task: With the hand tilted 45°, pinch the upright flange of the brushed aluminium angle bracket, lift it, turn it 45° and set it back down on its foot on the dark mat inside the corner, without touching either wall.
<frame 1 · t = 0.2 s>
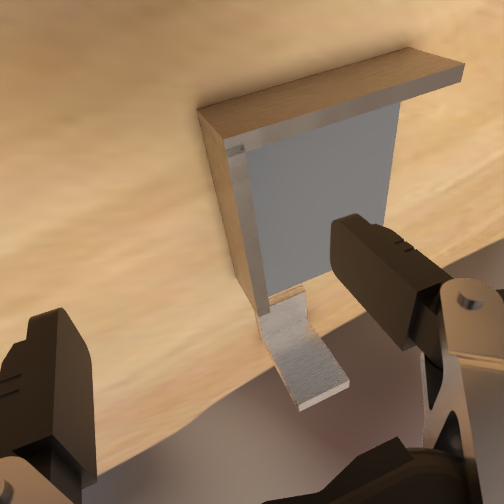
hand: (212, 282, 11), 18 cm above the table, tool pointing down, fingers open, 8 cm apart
corner mat: (315, 199, 35), on the table
corner walls: (315, 199, 35), resting in corner mat
aluminium bracket: (280, 313, 44), on the table
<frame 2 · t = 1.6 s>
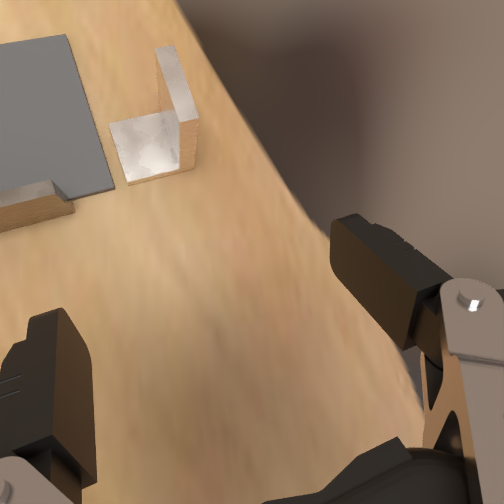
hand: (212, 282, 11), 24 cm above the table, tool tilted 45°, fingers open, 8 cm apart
aluminium bracket: (152, 148, 36), on the table
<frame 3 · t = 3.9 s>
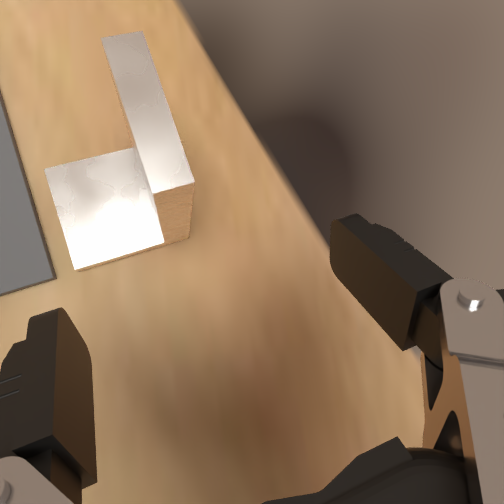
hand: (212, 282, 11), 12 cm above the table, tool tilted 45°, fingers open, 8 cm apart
aluminium bracket: (120, 207, 22), on the table
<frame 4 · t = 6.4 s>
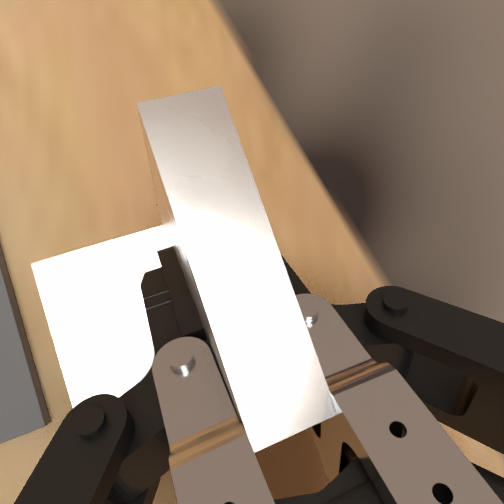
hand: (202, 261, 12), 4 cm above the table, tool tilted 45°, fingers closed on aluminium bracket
aluminium bracket: (143, 310, 15), on the table, touching gripper
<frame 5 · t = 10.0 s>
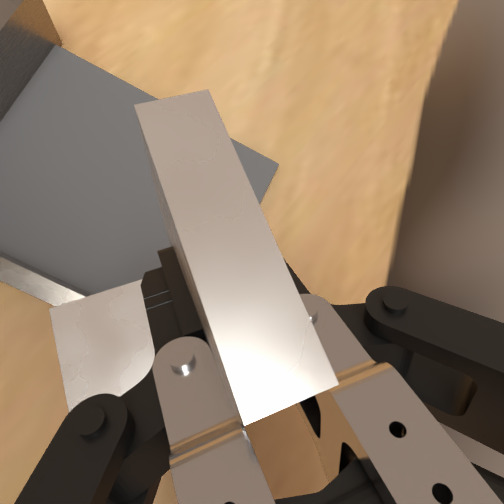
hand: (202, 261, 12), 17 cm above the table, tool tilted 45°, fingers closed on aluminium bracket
corner mat: (123, 191, 29), on the table
corner walls: (123, 191, 29), resting in corner mat
aluminium bracket: (157, 356, 15), point 13 cm above the table, tilted 15°, touching gripper
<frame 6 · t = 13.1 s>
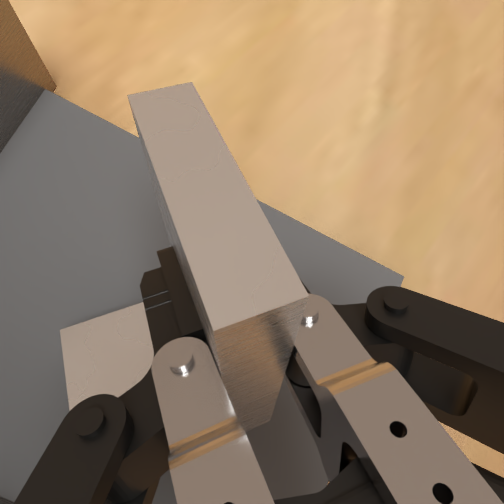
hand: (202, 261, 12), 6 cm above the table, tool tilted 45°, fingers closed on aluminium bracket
corner mat: (158, 335, 17), on the table
corner walls: (158, 335, 17), resting in corner mat
aluminium bracket: (164, 377, 15), point 3 cm above the table, tilted 27°, touching gripper
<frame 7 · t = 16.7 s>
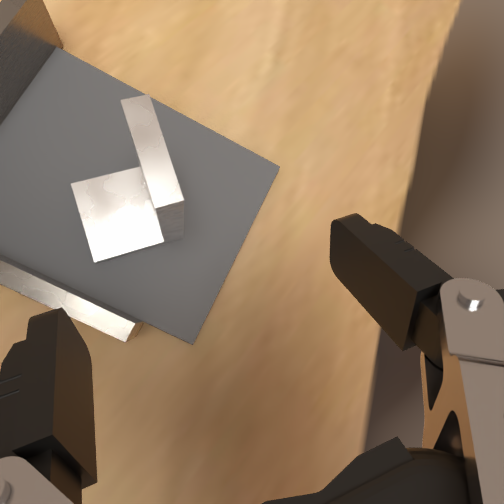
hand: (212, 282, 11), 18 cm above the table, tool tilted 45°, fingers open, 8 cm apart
corner mat: (123, 193, 29), on the table
corner walls: (123, 193, 29), resting in corner mat
aluminium bracket: (129, 213, 28), point 1 cm above the table, touching corner mat
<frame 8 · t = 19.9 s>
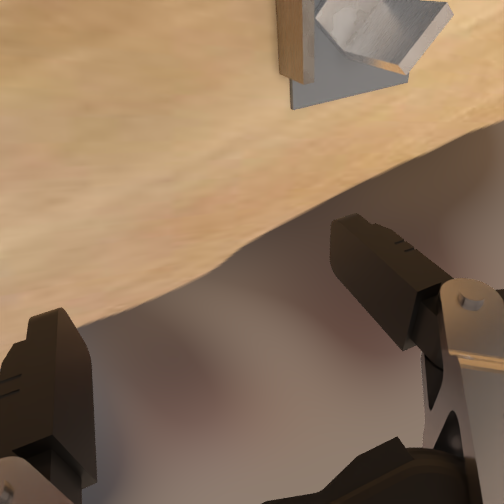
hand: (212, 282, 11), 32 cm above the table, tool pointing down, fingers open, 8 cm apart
aluminium bracket: (347, 12, 39), point 1 cm above the table, touching corner mat
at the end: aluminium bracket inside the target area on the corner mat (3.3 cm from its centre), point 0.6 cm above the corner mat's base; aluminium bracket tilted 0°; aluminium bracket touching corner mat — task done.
